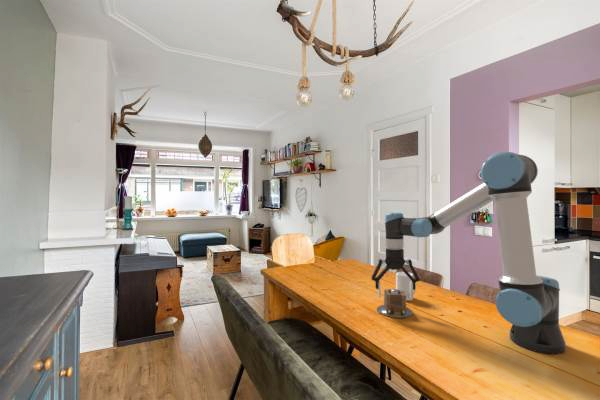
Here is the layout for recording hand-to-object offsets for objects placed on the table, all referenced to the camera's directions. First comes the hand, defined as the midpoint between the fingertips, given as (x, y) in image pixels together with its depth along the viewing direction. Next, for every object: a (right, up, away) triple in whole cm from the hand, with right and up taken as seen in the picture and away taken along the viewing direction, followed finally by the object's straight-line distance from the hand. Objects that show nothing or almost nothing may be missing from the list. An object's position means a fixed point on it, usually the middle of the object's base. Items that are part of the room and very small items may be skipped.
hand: (395, 296), depth 135 cm
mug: (+11, -6, +17) cm, 21 cm away
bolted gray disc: (0, -6, 0) cm, 6 cm away
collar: (0, -6, -2) cm, 6 cm away
